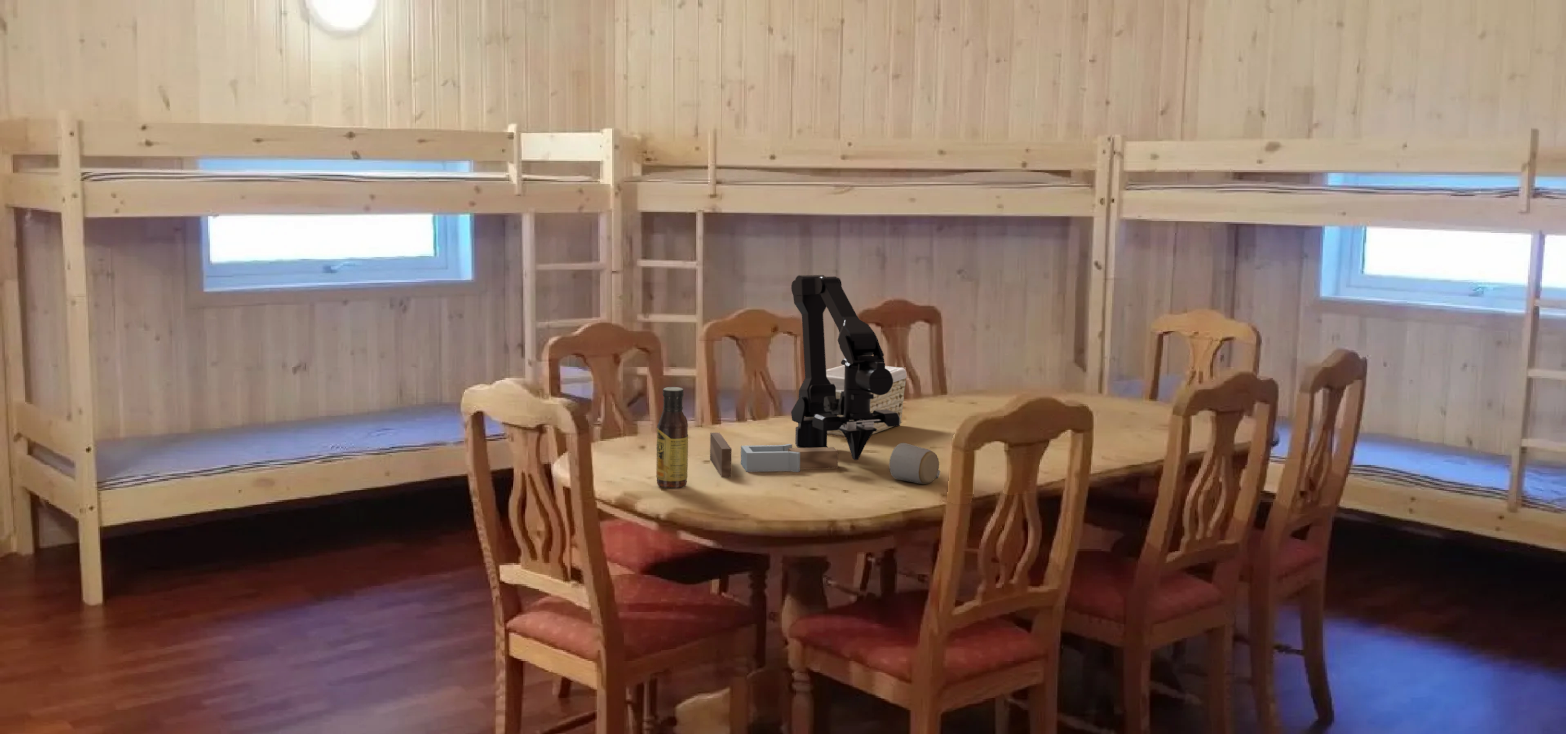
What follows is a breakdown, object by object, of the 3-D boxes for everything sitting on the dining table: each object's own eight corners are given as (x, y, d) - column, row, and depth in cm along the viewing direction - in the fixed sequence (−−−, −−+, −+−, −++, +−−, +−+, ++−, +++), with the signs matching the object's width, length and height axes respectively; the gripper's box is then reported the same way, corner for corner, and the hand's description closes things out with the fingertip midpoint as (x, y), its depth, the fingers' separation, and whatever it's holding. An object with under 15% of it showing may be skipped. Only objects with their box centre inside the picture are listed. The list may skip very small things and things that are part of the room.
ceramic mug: (920, 487, 292) (922, 450, 291) (887, 481, 297) (889, 444, 296) (949, 480, 300) (951, 444, 299) (916, 474, 306) (918, 438, 305)
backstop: (719, 459, 316) (719, 432, 315) (731, 477, 298) (731, 448, 297) (710, 459, 315) (710, 432, 315) (721, 477, 298) (721, 448, 297)
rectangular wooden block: (832, 465, 314) (833, 447, 313) (837, 469, 310) (837, 450, 309) (787, 466, 311) (788, 448, 311) (792, 470, 307) (792, 451, 307)
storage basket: (862, 440, 342) (864, 378, 340) (803, 432, 350) (805, 372, 348) (907, 425, 362) (909, 367, 360) (850, 418, 370) (852, 361, 368)
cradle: (791, 461, 315) (791, 443, 314) (800, 472, 305) (800, 453, 304) (739, 462, 313) (740, 444, 312) (747, 473, 303) (747, 454, 302)
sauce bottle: (656, 482, 292) (657, 385, 289) (687, 482, 293) (688, 385, 290) (656, 489, 286) (656, 390, 283) (687, 489, 286) (688, 390, 283)
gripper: (877, 380, 321) (874, 449, 323) (801, 384, 313) (800, 455, 315) (902, 388, 311) (900, 459, 313) (825, 392, 303) (823, 465, 305)
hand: (855, 459), depth 312 cm, fingers closed
